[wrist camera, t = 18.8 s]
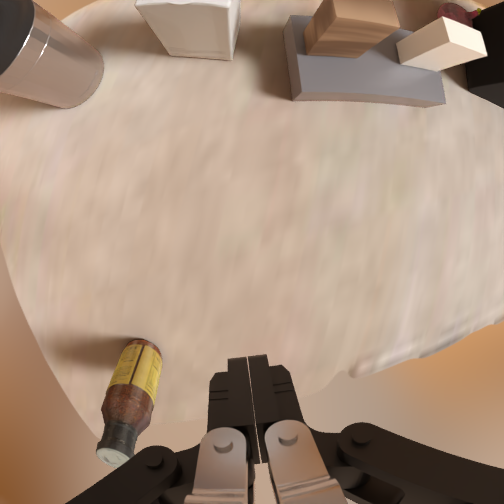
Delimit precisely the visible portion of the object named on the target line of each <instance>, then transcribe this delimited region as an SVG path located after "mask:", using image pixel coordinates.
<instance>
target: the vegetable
mask: <svg viewBox="0 0 504 504" xmlns="http://www.w3.org/2000/svg"><path fill="white" fill-rule="evenodd" d="M480 13H481V9H480V8H478V9H477V10H475V11H473V12H466V10H464V9H463V8H462V7H461V6H459V5H457V4H454V3H445V4H443V5H441V6H440V8H439V10H438V14H437V16H438V19H439V18H440V17H442V16H443V17H445V18H448V19H451V20H453V21H456V22H459V23H461V24H463V25H466V26H468V27H470V28H472V27H473V23H472V19H473V18H475V17H476V16H478V15H479V14H480Z"/></svg>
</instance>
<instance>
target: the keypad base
mask: <svg viewBox="0 0 504 504" xmlns="http://www.w3.org/2000/svg"><path fill="white" fill-rule="evenodd" d="M312 17H313V16H296V15H290V17H289V19H288V22H287V24H286V26H285V28H284V30H283V36H284V42H285V49H286V56H287V63H288V70H289V78H290V85H291V93H292V101H352V102H371V103H385V104H396V105H406V106H414V107H422V108H427V107H432V106H437V105H442V104H446V101H445V94H444V88H443V83H442V77H441V72H440V71H437V72H436V71H431V70H427V69H422V68H417V67H412V66H407V65H401V64H400V60H399V55H398V50H397V46H396V43H397V42H399V41H401V40H402V39H404V38H406V37H407V36H409V35H411V34H412V33H414V32H412V31H408V30H404V29H398V30H396V31H395V32H393V33H392V34H390V35H389V36H387V37H386V38H385V39H383V40H382V41H380V42H379V43H378V44H376V45H375V46H373V47H372V48H371V49H369V50H368V51H366V52H365V53H364V54H362V55H361V56H360V57H358V58H347V57H333V56H310V55H306V48H305V42H304V36H303V32H304V30H305V29H306V27H307V25H308V24H309V22H310V21H311V19H312Z"/></svg>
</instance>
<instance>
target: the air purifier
mask: <svg viewBox="0 0 504 504" xmlns="http://www.w3.org/2000/svg"><path fill="white" fill-rule="evenodd" d="M472 23H473V27H472V28H473V29H475V30H477V31H479V32H481V35H482V38H483V41H484V45H485V49H486V52H487V56H485V57H482V58H478V59H475V60H472V61H468V62H465V63H466V71H467V79H468V88H469V91H470V92H471V93H473V94H475V95H477V96H479V97H482V98H484V99H486V100H488V101H490V102H492V103H494V104H496V105H498V106H500V107H502V108H504V2H501V3H499V4H496V5H494V6H491V7H489V8H486V9H484V10H481V13H480V14H479V15H478V16H476V17H475V18H473V19H472Z"/></svg>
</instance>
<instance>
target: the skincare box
mask: <svg viewBox="0 0 504 504" xmlns="http://www.w3.org/2000/svg"><path fill="white" fill-rule="evenodd" d="M135 7H136V8H137V10H138V11H139V12H140V14H141V15H142V17H143V18H144V19H145V21H146V22H147V23H148V25H149V26H150V28H151V29H152V30H153V32H154V33H155V35H156V36H157V37H158V39H159V40H160V42H161V43H162V45H163V46H164V47H165V49H166V50H167V52H168V53H169V55H170V56H184V57H197V58H209V59H222V60H229V61H232V59H233V54H234V50H235V46H236V41H237V37H238V32H239V28H240V0H136V3H135Z"/></svg>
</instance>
